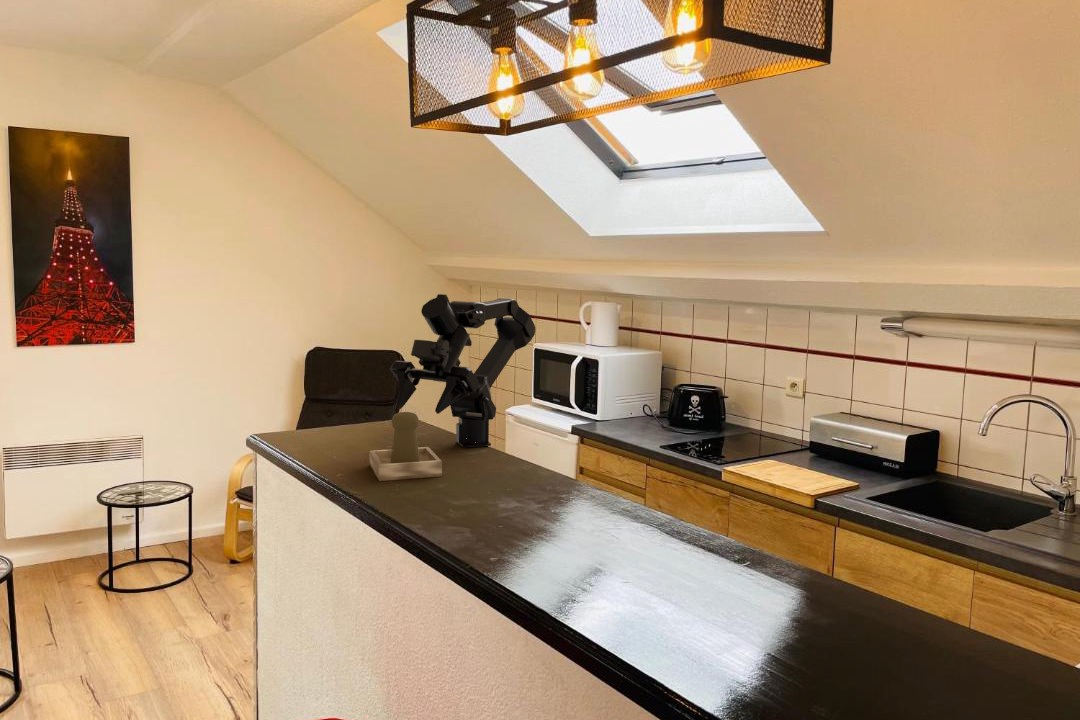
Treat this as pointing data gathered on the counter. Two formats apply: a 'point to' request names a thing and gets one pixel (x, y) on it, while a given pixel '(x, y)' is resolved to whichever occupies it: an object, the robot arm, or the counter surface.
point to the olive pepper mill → (405, 438)
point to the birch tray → (405, 465)
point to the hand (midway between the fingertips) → (417, 410)
